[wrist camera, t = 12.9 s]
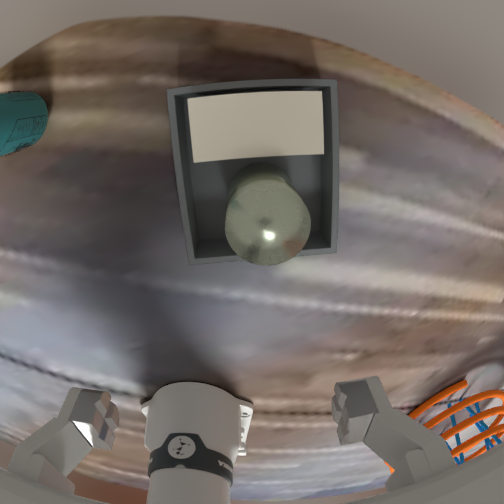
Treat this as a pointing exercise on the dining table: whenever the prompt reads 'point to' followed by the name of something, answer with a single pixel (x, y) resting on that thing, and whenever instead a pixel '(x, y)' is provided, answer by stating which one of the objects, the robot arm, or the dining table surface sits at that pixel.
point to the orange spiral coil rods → (466, 421)
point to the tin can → (265, 215)
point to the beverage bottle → (21, 120)
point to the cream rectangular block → (256, 125)
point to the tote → (222, 171)
